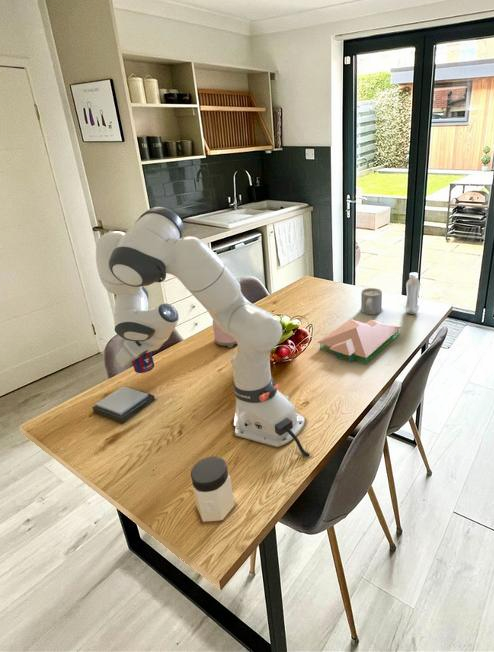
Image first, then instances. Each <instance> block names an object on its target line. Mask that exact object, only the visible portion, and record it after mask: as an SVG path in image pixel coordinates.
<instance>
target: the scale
mask: <svg viewBox="0 0 494 652" xmlns="http://www.w3.org/2000/svg"><path fill="white" fill-rule="evenodd" d="M155 400H156V399H155V395H154V394H152V393H148V392H145V391H142V390H139V389H136V388H132V387H130V386H127V385H122V386H121V387H119V388H118V389H116V390H114V391H113V392H112V393H110V394H109V395H107V396H105V397H103V398H102V399H100V400H99V401H98V402H96V403H94V404H95V405H94V406H92V407H91V408H92V411H93V413H95V414H97V415H100V416H103V417H105V418H108V419H111V420H113V421H116V422H118V423H121V424H124V423H126V422H127V421H128V420H130V419H131V418H133V417H134V416H135V415H137V414H138V413H139V412H141V411H142V410H144V409H145V408H147V406H149V405H150V404H152V403H153V402H155Z"/></svg>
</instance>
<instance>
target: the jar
mask: <svg viewBox="0 0 494 652" xmlns="http://www.w3.org/2000/svg"><path fill="white" fill-rule="evenodd" d="M190 482H191V486H192V491H193V495H194V496H193V497H194V500H195V504H196V509H197V511H198V513H199V516H200V518H201V521H202V522H203V523H206V522H218V521H224V520H225V518H226V517H227V516H228V514H229V513H230V512H231V511H232V509H233V508H234V507H235V505H236V504H235V499H234V492H233V487H232V481H231V476H230V474H229V470H228V464H227V462H226V460H224V458H222V457H219V456H209V457H204V458H203V459H200V460H199V461H197V462H196V463H195V464H194V465H193V466H192V469H191V470H190Z"/></svg>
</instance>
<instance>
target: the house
mask: <svg viewBox="0 0 494 652" xmlns="http://www.w3.org/2000/svg"><path fill="white" fill-rule="evenodd" d="M400 329H401V326H398V325H393V324H390V323H386V322H382V321H378V320H374V319H370V320H368V321H367V322H362V321H359V320H354V319H351V318H350V319H349V320H347V321H346V322H344V323H343V324H341V325H340V326H339V327H336V329H334V330H333V331H331V332H330V333H329V334H327V335H326V336H324V337H323V338H322V339H319V341H317V344H319V345H320V350H323V351H326V352H330V353H331V354H335V355H337V356H339V358H340V359H341V360H345V361H347V362H352V361H356V362H359V363H361V364H365V365H366V364H367V363H368V362H369V361H370V360H371V359H373V358H374V356H377V354H378V353H380V351H382V349H383V348H385V346H387V345H388V344H389V343H390V342H391V341H393V339H395V338H396V337H397V336H398V335H399V330H400ZM327 349H329V350H327ZM344 356H346V357H344ZM352 356H354V358H352ZM346 358H349V359H346ZM355 358H357V359H355ZM363 359H364V361H361V360H363Z"/></svg>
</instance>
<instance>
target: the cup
mask: <svg viewBox="0 0 494 652" xmlns="http://www.w3.org/2000/svg"><path fill="white" fill-rule="evenodd" d="M131 364H132V367H133V370H134V373H137V374H146V373H148V372H150V371H152V370H153V369H154V368H155V362H154V358H153V354H152V351H151V352H148V353H145V354H144V355H142V356H140V357H139V358H137V359H135V360H134V361H132V362H131Z"/></svg>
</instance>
